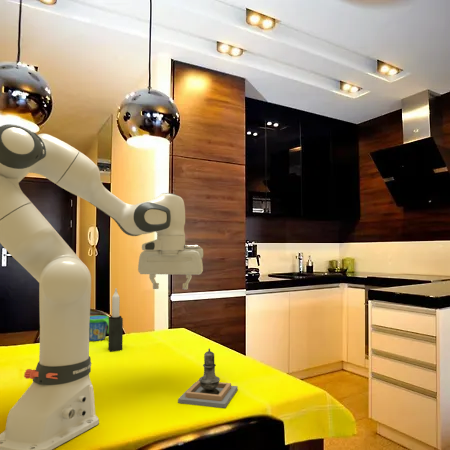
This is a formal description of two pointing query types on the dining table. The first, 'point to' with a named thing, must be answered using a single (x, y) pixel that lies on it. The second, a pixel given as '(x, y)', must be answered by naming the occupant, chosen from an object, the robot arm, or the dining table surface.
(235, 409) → the dining table surface
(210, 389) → the salt shaker
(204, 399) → the base plate
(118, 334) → the candle
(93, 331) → the snack cup
